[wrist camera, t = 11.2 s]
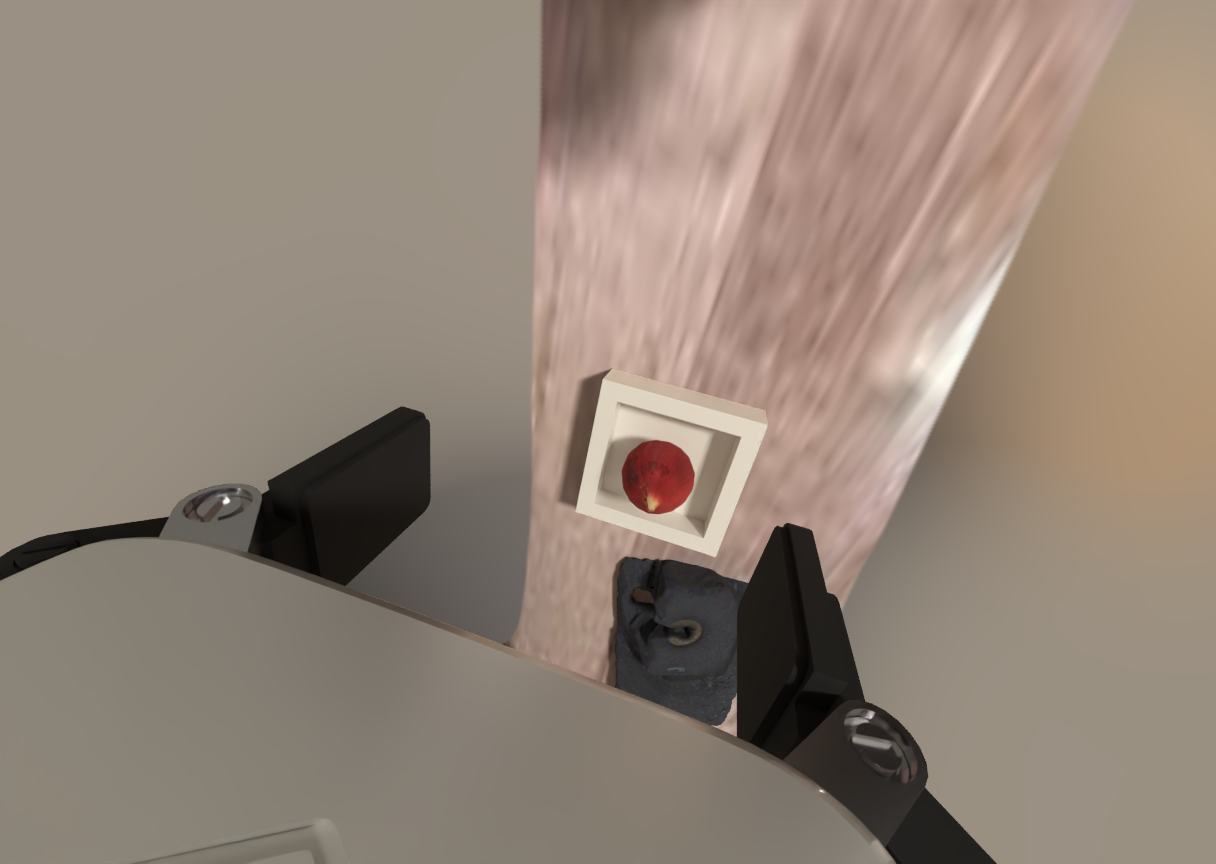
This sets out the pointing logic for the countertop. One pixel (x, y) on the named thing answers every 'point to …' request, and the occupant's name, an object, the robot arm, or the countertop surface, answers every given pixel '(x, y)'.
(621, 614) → the dark grey folded cloth
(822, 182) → the countertop surface
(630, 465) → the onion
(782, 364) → the countertop surface
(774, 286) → the countertop surface
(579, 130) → the countertop surface
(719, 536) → the dish
